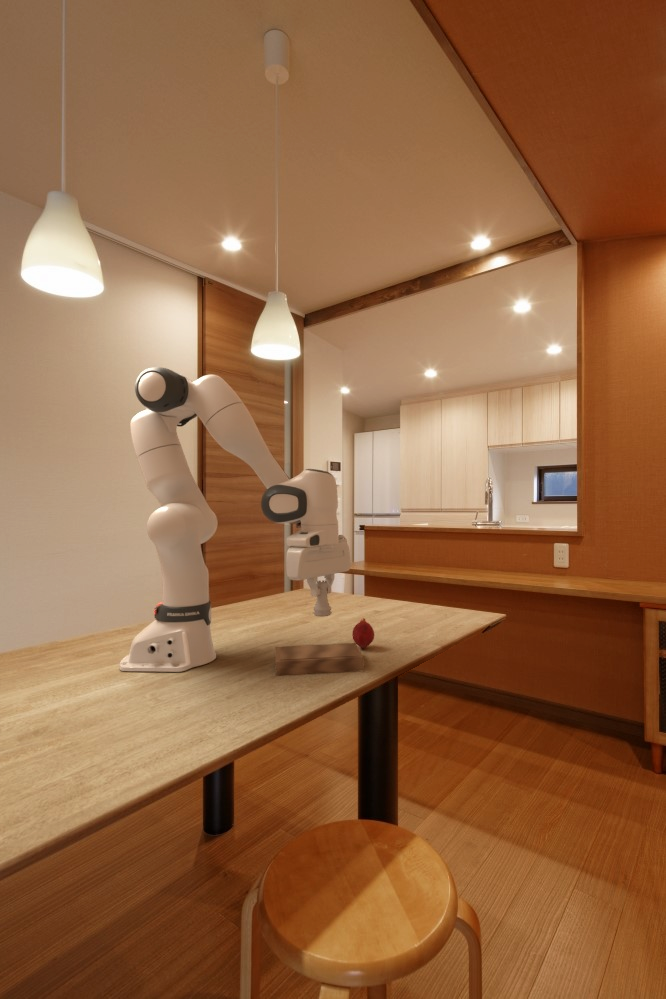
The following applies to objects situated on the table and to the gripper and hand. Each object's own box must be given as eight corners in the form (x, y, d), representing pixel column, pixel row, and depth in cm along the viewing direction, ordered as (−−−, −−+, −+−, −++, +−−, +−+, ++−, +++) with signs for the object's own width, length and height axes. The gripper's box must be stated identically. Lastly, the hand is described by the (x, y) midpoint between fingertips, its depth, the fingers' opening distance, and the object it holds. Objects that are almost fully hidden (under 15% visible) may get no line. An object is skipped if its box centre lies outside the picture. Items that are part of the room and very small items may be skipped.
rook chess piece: (326, 617, 115) (325, 583, 115) (309, 615, 117) (309, 582, 117) (335, 613, 119) (334, 580, 119) (318, 612, 121) (318, 579, 121)
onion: (375, 651, 127) (374, 620, 127) (352, 652, 127) (352, 620, 127) (373, 645, 133) (373, 615, 133) (352, 645, 133) (351, 615, 133)
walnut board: (275, 675, 111) (275, 661, 111) (275, 658, 123) (275, 646, 123) (363, 670, 113) (363, 656, 113) (355, 654, 125) (355, 642, 125)
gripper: (336, 533, 128) (337, 587, 128) (281, 539, 112) (282, 600, 112) (356, 534, 124) (357, 589, 124) (301, 539, 108) (303, 603, 108)
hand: (321, 594), depth 118 cm, fingers closed on rook chess piece, 3 cm apart
